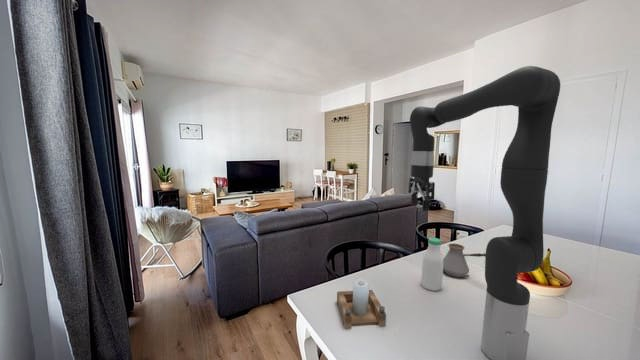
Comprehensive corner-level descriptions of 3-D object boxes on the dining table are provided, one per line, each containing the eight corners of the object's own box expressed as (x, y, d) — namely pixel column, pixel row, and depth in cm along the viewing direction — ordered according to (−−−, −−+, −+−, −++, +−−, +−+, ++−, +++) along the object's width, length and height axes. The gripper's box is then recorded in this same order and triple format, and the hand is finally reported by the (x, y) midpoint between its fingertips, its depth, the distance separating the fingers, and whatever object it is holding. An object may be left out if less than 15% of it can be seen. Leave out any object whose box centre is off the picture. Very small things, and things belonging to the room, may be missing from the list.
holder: (385, 325, 81) (386, 309, 80) (345, 328, 80) (345, 311, 79) (371, 299, 95) (372, 285, 94) (336, 301, 93) (337, 287, 93)
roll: (368, 316, 85) (370, 287, 83) (353, 315, 85) (354, 287, 83) (366, 305, 90) (367, 278, 88) (351, 305, 90) (352, 278, 88)
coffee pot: (434, 269, 120) (436, 238, 118) (452, 265, 124) (454, 235, 122) (477, 293, 100) (481, 257, 98) (497, 288, 105) (501, 252, 103)
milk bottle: (443, 292, 101) (447, 243, 98) (423, 290, 102) (426, 241, 100) (438, 282, 108) (442, 236, 106) (419, 280, 110) (422, 235, 107)
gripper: (443, 165, 86) (440, 212, 88) (422, 162, 100) (419, 203, 102) (422, 165, 85) (419, 212, 87) (403, 162, 99) (401, 203, 101)
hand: (419, 207), depth 95 cm, fingers open, 8 cm apart
